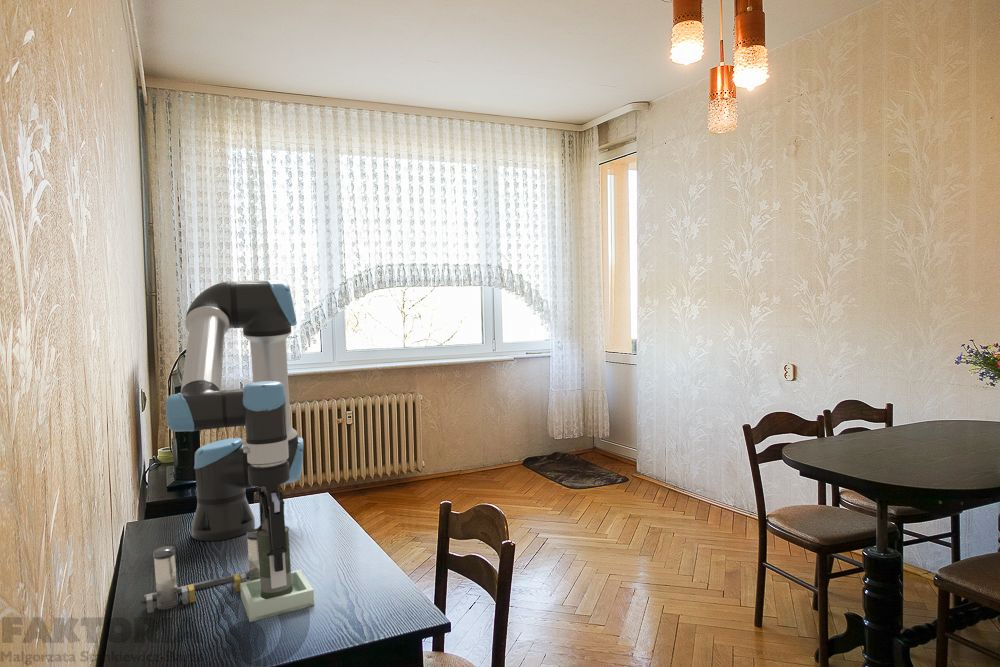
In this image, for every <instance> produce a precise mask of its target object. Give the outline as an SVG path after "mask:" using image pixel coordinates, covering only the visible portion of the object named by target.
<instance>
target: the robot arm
mask: <svg viewBox="0 0 1000 667" xmlns="http://www.w3.org/2000/svg"><path fill="white" fill-rule="evenodd" d="M294 307H295V306H294V302H293V297H292V292H291V287H290V285H289V283H288V282H287V281H285V280H275V279H274V280H273V279H266V280H246V281H245V280H243V281H223V282H218V283H216V284H214V285H213V284H212V285H211V286H210V287H207V288H206V289H204V290H203V291H202V292H200V293H199V294H198V295H197V296H196V297H195V298H194V299H193V301H191V303H190V304H189V307H188V309H187V312H186V315H185V320H184V322H185V328H186V330H187V332H188V335H187V343H186V350H185V358H184V364H183V372H182V379H181V388H180V392H177V393H175V394H170V395H169V396H168V397H167V398H166V402H165V418H166V424H167V428H168V429H169V430H170V431H172V432H196V431H203V430H204V431H205V430H212V429H222V428H232V427H233V428H235V427H236V428H237V427H245V428H244V429H245V437H246V438H245V442H244V441H243V438H241V437H231V438H226V439H220V440H216V441H213V442H209V443H207V444H204V445H202V446H200V447H199V448H198V449H197V450H196V451H195V452H194V466H193V470H194V474H195V488H196V489H195V490H196V502H197V504H196V505H197V506H196V510H195V513H194V516H193V520H192V524H191V530H190V531H191V538H192V539H193V540H196V541H201V542H212V541H213V542H215V541H216V542H217V541H222V540H223V541H224V540H228V539H233V538H236V537H237V538H238V537H240V536H243V535H244V534H246V533H247V532H248V531H249V530H252V529H255V527H256V522H255V516H254V513H253V511H252V508H251V507H250V504H249V501H248V498H247V495H246V493H247V492H246V489H251V488H257V498H258V504H259V506H258V508H259V524H260V525H261V524H262V521H263V518H266V519H267V525H268V534H269V543H270V552H269V553H266V554H267V556H269V560H270V576H271V588H272V589H273V588H277V587H282V586H286V585H287V581H286V565H285V552H287V547H286V534H285V526H286V522H285V500H284V495H283V494H284V493H283V491H281V489H280V488H279V486H280V485H286V484H291V483H295V482H298V481H299V480H300V478H301V476H302V474H303V473H302V472H303V463H304V438H303V437H300V436H298V431H297V430H296V429H295V428H293V427H292V425H291V424H292V422H291V420H292V419H291V408H290V407H291V406H290V391H289V390H290V388H289V374H288V373H289V372H288V355H287V338H288V337H289V336H290V335H291V334H292V327H294V326H296V325H297V323H298V322H297V318H296V311H295V308H294ZM229 329H242V330H243V331H242V332H243V333H242V336H244V337H245V338H246V339H247V340H248V341H249V343H250V356H251V357H250V358H251V369H252V370H251V371H252V382H250V383H247V384H246V385H244V386H243V388H239V389H238V388H236V389H226V390H222V381H223V380H222V378H223V377H222V376H223V361H224V360H223V358H224V343H225V342H224V341H225V335H226V334H227V333H228V331H229ZM260 525H259V526H260Z"/></svg>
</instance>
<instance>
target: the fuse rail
mask: <svg viewBox="0 0 1000 667" xmlns="http://www.w3.org/2000/svg"><path fill="white" fill-rule="evenodd" d="M257 529H258V527H256V528H253V529H252V530H249V531H248V532H247V533H245V534H246V539H247V542H246V543H247V554H248V571H244V572H243V571H242V572H239V573H235V574H231V575H225V576H222V577H217V578H212V579H209V580H204V581H199V582H195V583H192V584H191V583H190V584H186V585H183V586H178V580H177V579H178V578H177V568H176V563H177V562H176V547H175V546H173V545H172V546H171V545H170V546H168V545H167V546H162V547H159V548H158V547H157V548H156V549H154V550H153V551H152V557H153V561H154V562H153V564H154V574H155V575H154V577H155V589H156V590H155V591H156V592H151V593H146V594H144V595H143V598H144V600H143V601H144V603H145V602H146V612H147V614H150V613H154V600H156V606H157V609H158V610H164V611H165V610H169V609H172V608H175V607H177V606H178V605H179V594H181V601H182V605H188V604H192V603H195V602H196V593H195V592H196V590H198V591H199V590H200V589H201V590H202V589H205V588H209V587H214V586H217V585H218V586H220V585H222V584H226V583H231V582H233V587H234V590H235V592H236V593H237V592H241V590H240V583H244V582H248V577H249V581H252V580H257V579H260V566H259V551H258V537H257Z"/></svg>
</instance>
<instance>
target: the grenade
mask: <svg viewBox="0 0 1000 667" xmlns="http://www.w3.org/2000/svg"><path fill="white" fill-rule="evenodd" d="M257 528H258V529H257ZM257 528H256V529H257V537H258V551H259V566H260V582H261V597H262V598H264V599H270V598H274V597H278V596H282V595H286V594H290V593H291V592H292V591H293V587H292V580H291V571H292V568H291V566H292V565H291V549H290V535H289V534H290V533H289V531H290V528H289V527H288V526H287V525H285V534H286V547H287V552H285V565H286V581H287V585H286V586H282V587H277V588H273V589H272V588H271V576H270V560H269V556H267V554H266V553H269V552H270V543H269V534H268V525H267V519H266V518H263V521H262V524H261V525H259V526H258V527H257Z"/></svg>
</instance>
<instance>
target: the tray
mask: <svg viewBox="0 0 1000 667" xmlns="http://www.w3.org/2000/svg"><path fill="white" fill-rule="evenodd" d="M291 580H292V587H293V591H292V592H291V593H290V594H286V595H282V596H278V597H274V598H270V599H264V598H262V597H261V582H260V579H257V580H252V581H250V580H249V581H248V580H247V582H244V583H240V590H241V591H240V600H241V601H242V605H243V608H244V610H245V612H246V616H247V618H248V620H249V623H251V622H255V621H260V620H263V619H267V618H271V617H275V616H278V615H279V616H280V615H282V614H286V613H291V612H295V611H297V610H302V609H305V608H309V607H312V606H313V607H314V606H315V596H314V595H315V594H314V588H313V587H312V585H311V584H310V582H309V581H308V579H307V578H306V577H305V575H304V573H303V571H302V570H301V569H300V568H299V569H296V570H291Z"/></svg>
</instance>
